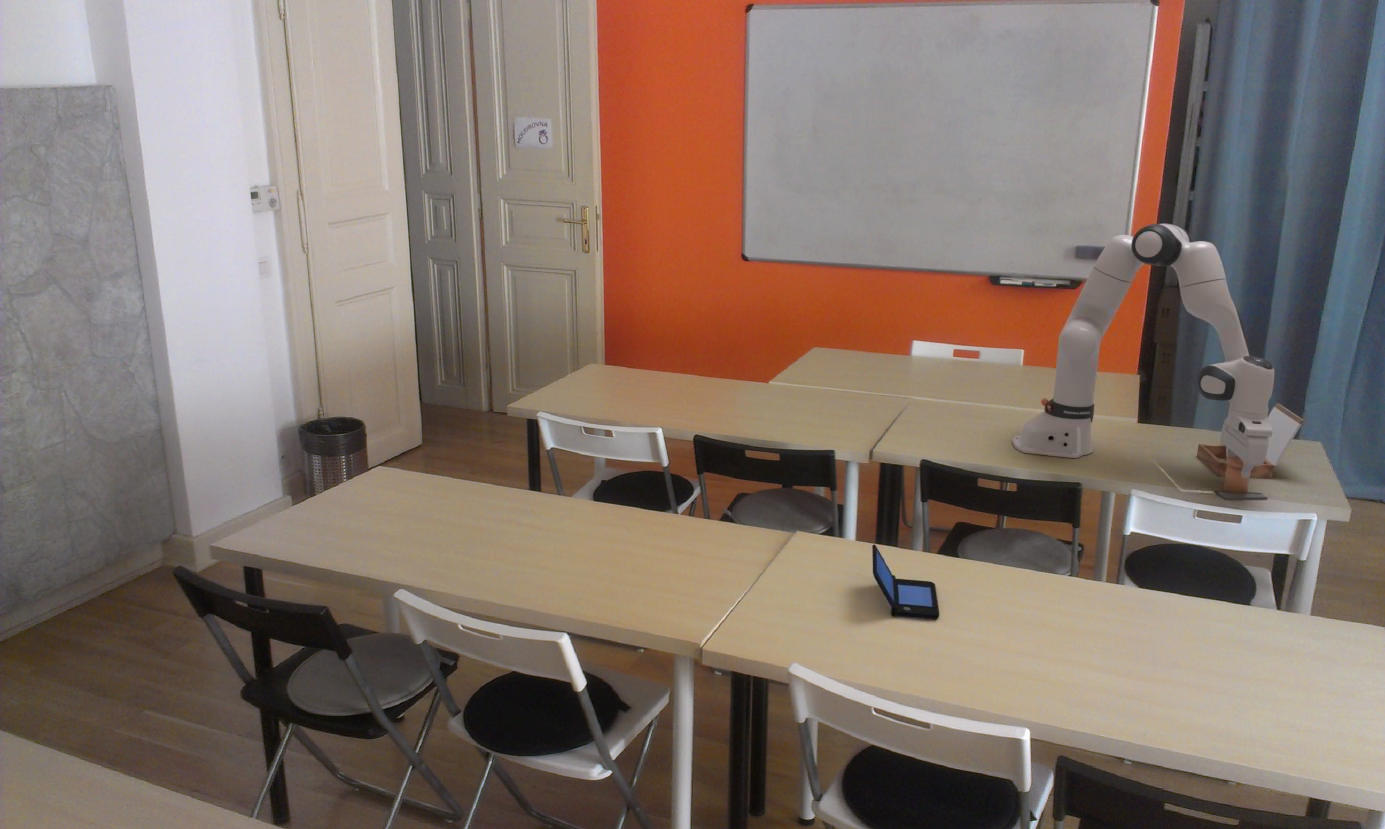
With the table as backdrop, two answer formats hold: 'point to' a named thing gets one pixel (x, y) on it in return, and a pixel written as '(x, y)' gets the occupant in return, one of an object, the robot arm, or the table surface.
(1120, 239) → the robot arm
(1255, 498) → the coaster
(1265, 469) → the tray
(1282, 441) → the lid
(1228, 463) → the tan cylinder
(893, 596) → the handheld game console
